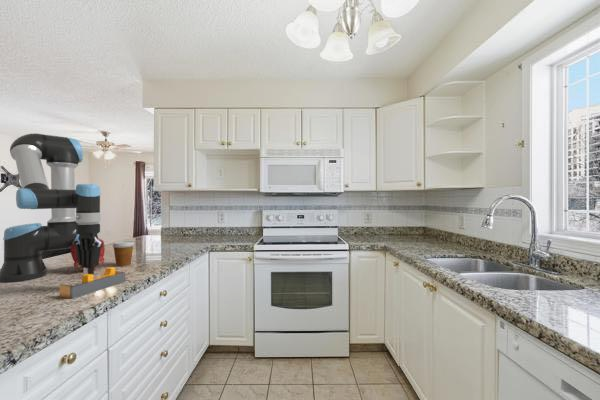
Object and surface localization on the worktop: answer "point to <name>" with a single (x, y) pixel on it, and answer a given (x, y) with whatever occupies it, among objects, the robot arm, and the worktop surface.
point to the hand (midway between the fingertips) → (88, 283)
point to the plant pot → (74, 256)
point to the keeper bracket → (91, 285)
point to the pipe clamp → (108, 272)
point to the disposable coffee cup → (123, 252)
